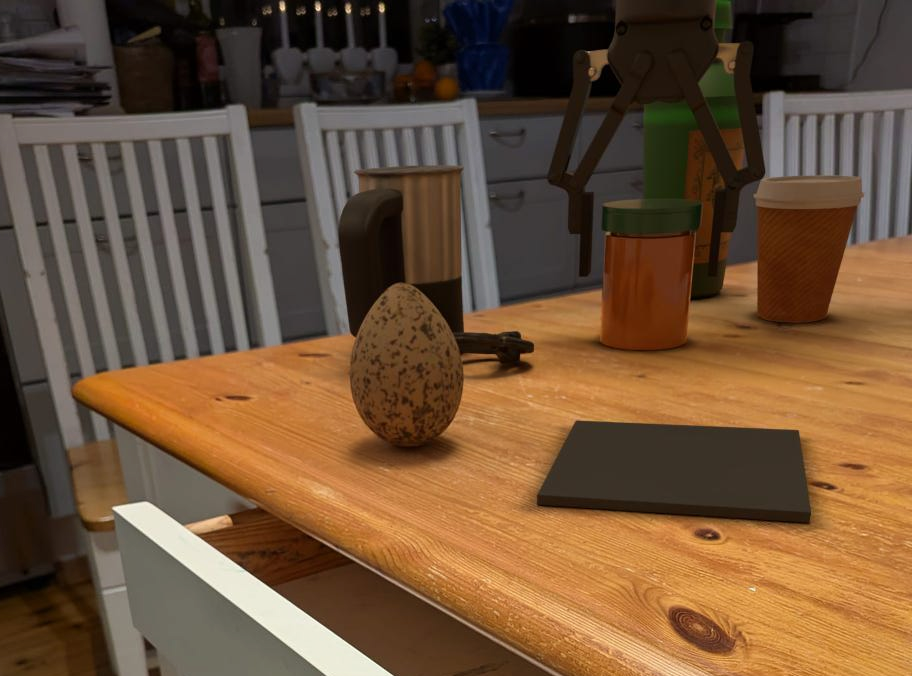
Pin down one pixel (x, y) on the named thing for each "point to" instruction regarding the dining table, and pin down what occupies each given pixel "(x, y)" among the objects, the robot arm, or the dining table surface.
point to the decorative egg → (406, 369)
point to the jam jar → (646, 290)
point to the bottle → (695, 156)
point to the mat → (681, 471)
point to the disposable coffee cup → (802, 243)
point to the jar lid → (651, 216)
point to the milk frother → (412, 249)
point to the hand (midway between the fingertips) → (647, 274)
